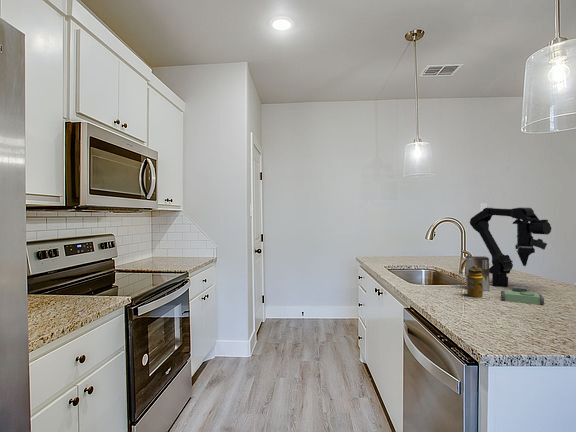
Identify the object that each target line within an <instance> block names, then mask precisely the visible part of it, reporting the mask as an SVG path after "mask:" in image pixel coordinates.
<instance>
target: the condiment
mask: <svg viewBox="0 0 576 432" xmlns="http://www.w3.org/2000/svg"><path fill="white" fill-rule="evenodd" d="M481 275H482V271H481V270H477V269H469V270H468V276H467V287H466V289H467V290H466V291H467V292H466V293H459V295H460V296H462V297H464V298H467V299H487V296H483V293H484V292H483V277H482V276H481Z"/></svg>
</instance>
